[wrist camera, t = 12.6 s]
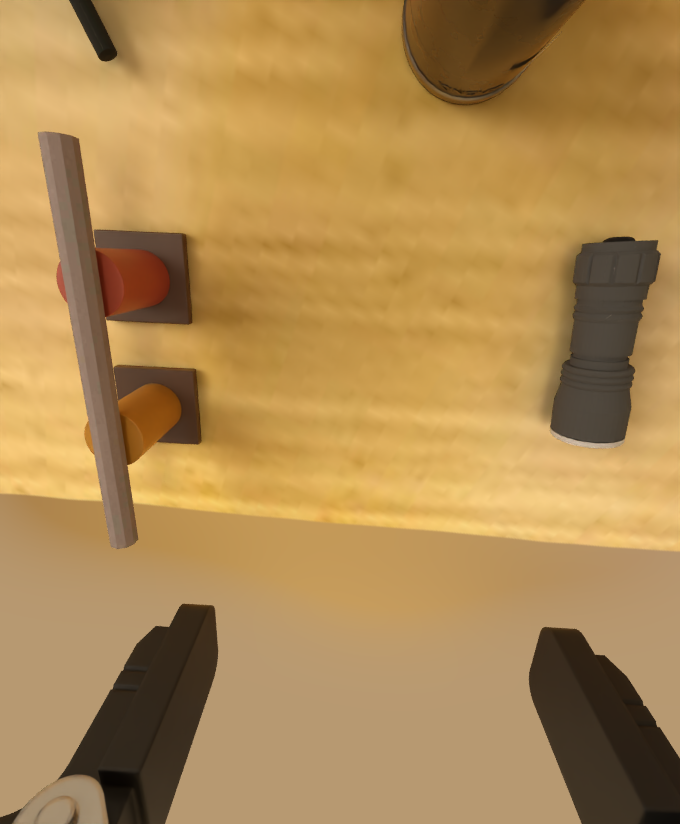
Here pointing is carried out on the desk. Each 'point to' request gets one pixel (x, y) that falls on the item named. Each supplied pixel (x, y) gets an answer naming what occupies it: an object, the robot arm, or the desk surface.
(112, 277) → the red peg stand
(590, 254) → the flashlight
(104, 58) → the handheld radio
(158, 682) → the robot arm
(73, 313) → the metal rod
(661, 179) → the desk surface
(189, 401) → the ochre post
